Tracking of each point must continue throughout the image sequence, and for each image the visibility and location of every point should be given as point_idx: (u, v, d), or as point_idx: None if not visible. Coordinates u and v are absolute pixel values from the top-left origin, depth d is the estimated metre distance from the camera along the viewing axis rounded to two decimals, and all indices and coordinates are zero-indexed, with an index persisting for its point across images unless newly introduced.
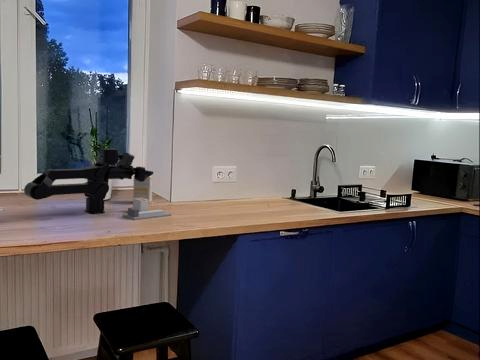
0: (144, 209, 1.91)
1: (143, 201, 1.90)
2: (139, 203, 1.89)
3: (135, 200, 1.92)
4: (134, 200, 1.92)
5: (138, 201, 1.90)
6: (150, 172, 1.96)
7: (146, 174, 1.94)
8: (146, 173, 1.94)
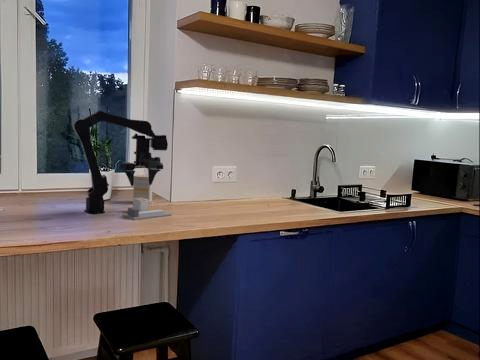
0: (144, 209, 1.91)
1: (143, 201, 1.90)
2: (139, 203, 1.89)
3: (135, 200, 1.92)
4: (134, 200, 1.92)
5: (138, 201, 1.90)
6: (131, 181, 1.87)
7: (129, 176, 1.87)
8: (130, 176, 1.87)
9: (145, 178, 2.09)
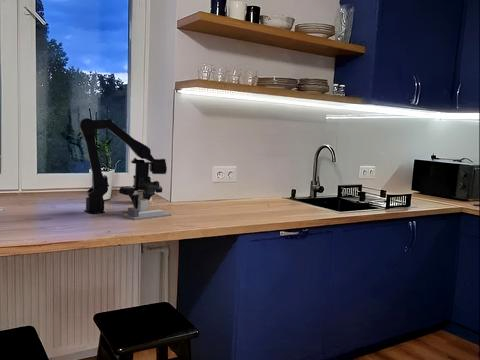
0: (144, 209, 1.91)
1: (143, 201, 1.90)
2: (139, 203, 1.89)
3: None
4: None
5: (138, 201, 1.90)
6: (135, 205, 1.90)
7: (133, 199, 1.90)
8: (134, 200, 1.90)
9: None
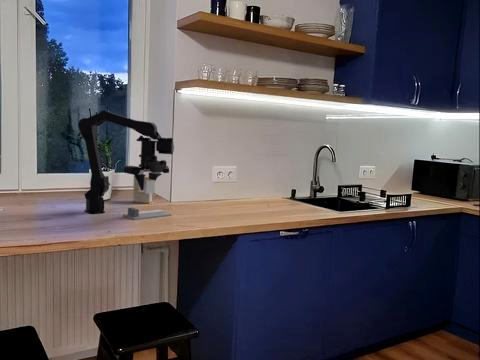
0: (150, 190, 1.81)
1: (149, 181, 1.80)
2: (145, 183, 1.80)
3: None
4: None
5: (144, 181, 1.81)
6: (141, 186, 1.81)
7: (139, 180, 1.81)
8: (139, 180, 1.80)
9: None
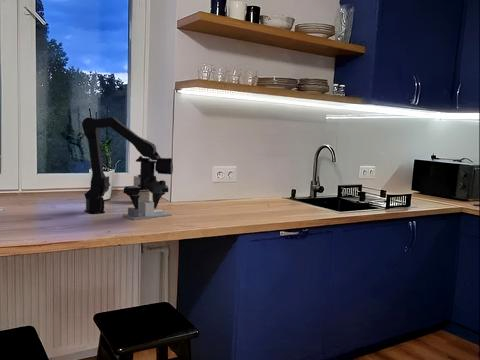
0: (149, 212, 1.82)
1: (148, 204, 1.81)
2: (144, 206, 1.81)
3: (140, 203, 1.83)
4: (139, 203, 1.84)
5: (143, 204, 1.82)
6: (135, 206, 1.80)
7: (134, 200, 1.80)
8: (134, 200, 1.80)
9: None
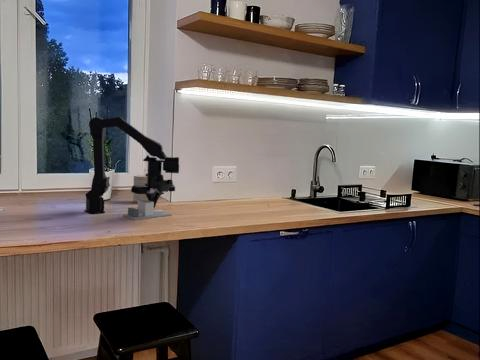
0: (149, 212, 1.82)
1: (148, 204, 1.81)
2: (144, 206, 1.81)
3: (139, 203, 1.83)
4: (138, 203, 1.84)
5: (143, 204, 1.82)
6: None
7: (150, 198, 1.86)
8: (150, 198, 1.86)
9: (145, 178, 2.09)
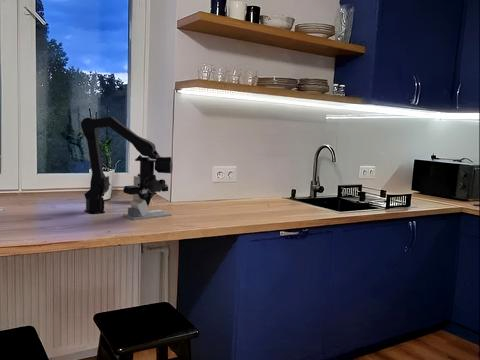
0: (145, 210, 1.81)
1: (140, 204, 1.79)
2: (137, 207, 1.79)
3: (132, 204, 1.81)
4: (131, 204, 1.81)
5: (135, 205, 1.79)
6: None
7: None
8: (143, 199, 1.83)
9: None
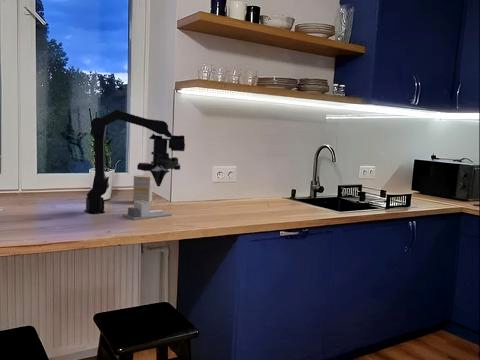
0: (145, 212, 1.81)
1: (144, 204, 1.80)
2: (140, 206, 1.80)
3: (136, 203, 1.82)
4: (135, 203, 1.83)
5: (139, 204, 1.80)
6: (157, 182, 1.88)
7: (155, 176, 1.88)
8: (156, 176, 1.88)
9: (145, 178, 2.09)
